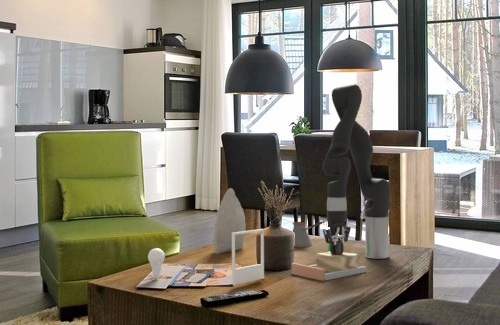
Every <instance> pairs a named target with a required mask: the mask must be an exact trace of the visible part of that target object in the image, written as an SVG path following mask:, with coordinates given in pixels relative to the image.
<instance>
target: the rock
mask: <svg viewBox="0 0 500 325" xmlns="http://www.w3.org/2000/svg"><path fill="white" fill-rule="evenodd" d="M213 227H214V232H213V236H212V243H213V248H214V254H217V255H218V254H223V253H226V252H232V233H234V232H242V231H247V230H246V227H247V224H246V216H245V212H244V209H243V207H242V206H241V202H240V201H239V199H238V197H237V196H236V193H235V190H234V189H233V188H231V187H230V188H228V189H227V191H226V192H225V193H224V194H223V198H222V200H221V201H220V205H219V206H218V210H217V212H216V219H215V222H214V225H213ZM245 234H246V233H245ZM245 234H238V235H235V251H238V250H242V249H243V248H244V241H245V240H244V239H245Z"/></svg>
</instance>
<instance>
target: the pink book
mask: <svg viewBox="0 0 500 325" xmlns="http://www.w3.org/2000/svg"><path fill="white" fill-rule="evenodd" d="M364 273H367V266H363V265H361V266H358V267H356V268H351V269H346V270H341V271H336V272H328V271H325V269H321V268H317V263H316V264H310V265H306V264H301V263H297V262H291V275H294V276H295V275H296V276H299V277H304V278H309V279H311V280H312V279H313V280H317V281H322V282H324V281H330V280H334V279H339V278H342V277H343V278H344V277H348V276H353V275H357V274H364Z"/></svg>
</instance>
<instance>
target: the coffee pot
mask: <svg viewBox="0 0 500 325" xmlns="http://www.w3.org/2000/svg"><path fill="white" fill-rule="evenodd" d="M327 222H328V221H327V220H322V221H319V222H316V223H314V224H312V225H310V226H308V227H306V224H307V222H306V221H294V222H292V225H293V229H292V231H293V232H294V233H295V247H294V248H308V247H311V246H312V245H313V243H312V241H311V238H310V236H309V234H308V230H309V229H312V228H315V227H319V226H320V225H323V226H328V223H327ZM325 223H326V224H325Z"/></svg>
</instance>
